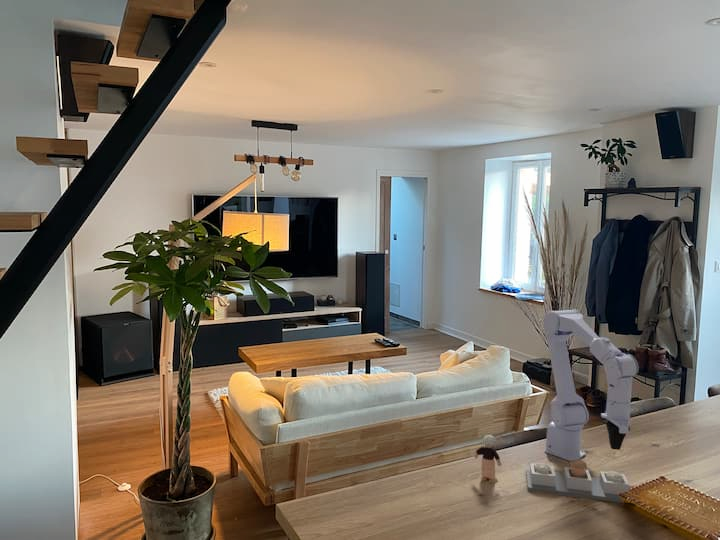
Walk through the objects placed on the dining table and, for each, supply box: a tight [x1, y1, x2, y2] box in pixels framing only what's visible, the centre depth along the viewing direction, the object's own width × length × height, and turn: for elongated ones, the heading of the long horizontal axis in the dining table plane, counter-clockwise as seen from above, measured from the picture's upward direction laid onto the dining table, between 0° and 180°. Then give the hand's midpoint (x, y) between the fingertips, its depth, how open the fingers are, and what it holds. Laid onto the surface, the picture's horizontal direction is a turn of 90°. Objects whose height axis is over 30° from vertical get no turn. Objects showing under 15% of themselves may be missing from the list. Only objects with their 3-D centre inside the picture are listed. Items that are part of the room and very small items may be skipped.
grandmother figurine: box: [473, 434, 502, 484], centre depth 149 cm, size 8×4×13 cm, turn 65°
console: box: [525, 462, 631, 504], centre depth 145 cm, size 26×10×4 cm, turn 76°
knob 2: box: [606, 470, 623, 483], centre depth 143 cm, size 4×4×4 cm
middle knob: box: [570, 459, 588, 478], centre depth 145 cm, size 4×4×4 cm
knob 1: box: [535, 462, 551, 474], centre depth 147 cm, size 4×4×4 cm
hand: (615, 448), depth 146 cm, fingers closed
